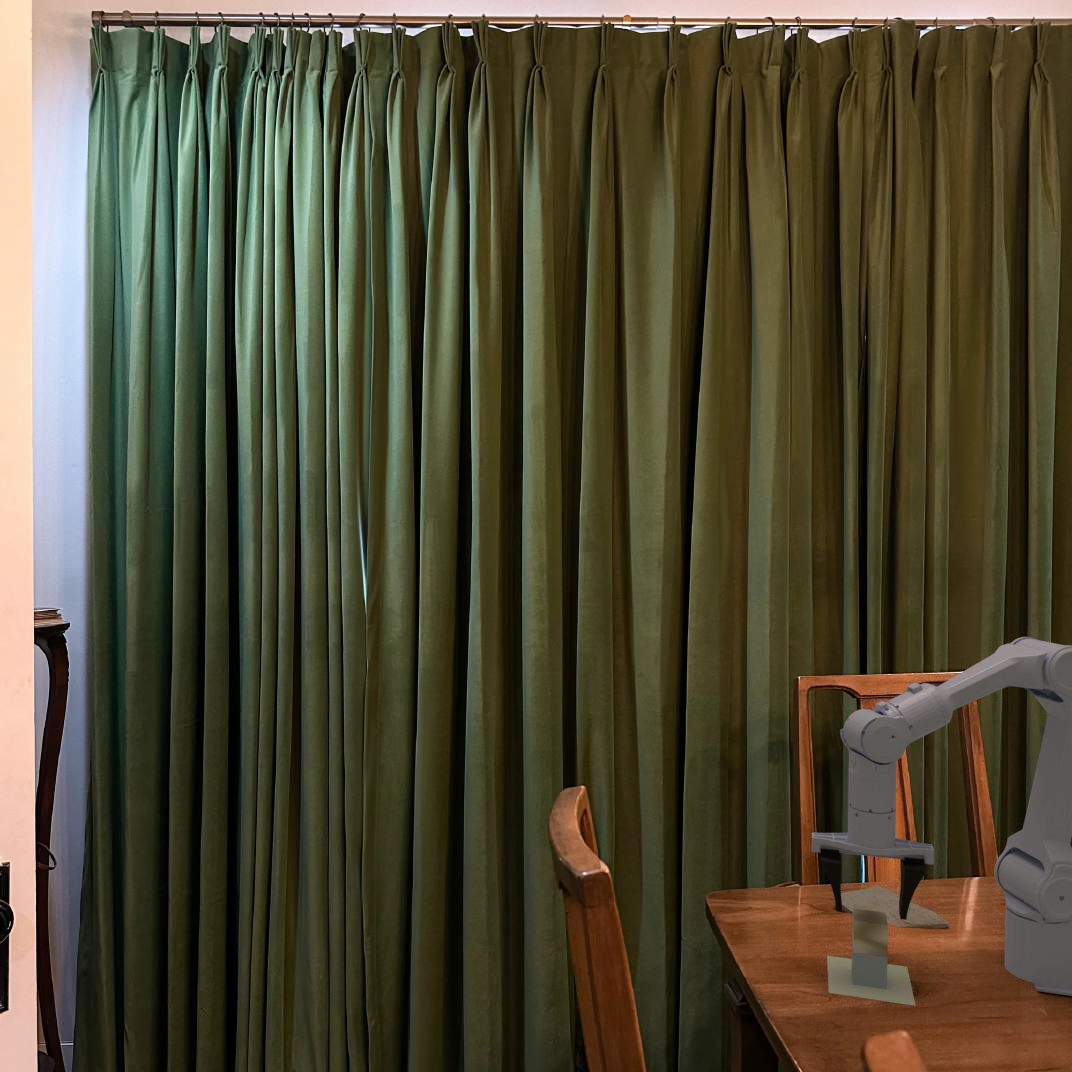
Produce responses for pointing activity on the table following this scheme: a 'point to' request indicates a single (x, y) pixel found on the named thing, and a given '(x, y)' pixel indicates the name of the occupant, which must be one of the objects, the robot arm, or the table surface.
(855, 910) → the cream cube
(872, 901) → the stone
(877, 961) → the slate cube
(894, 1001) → the plate
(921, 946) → the table surface
